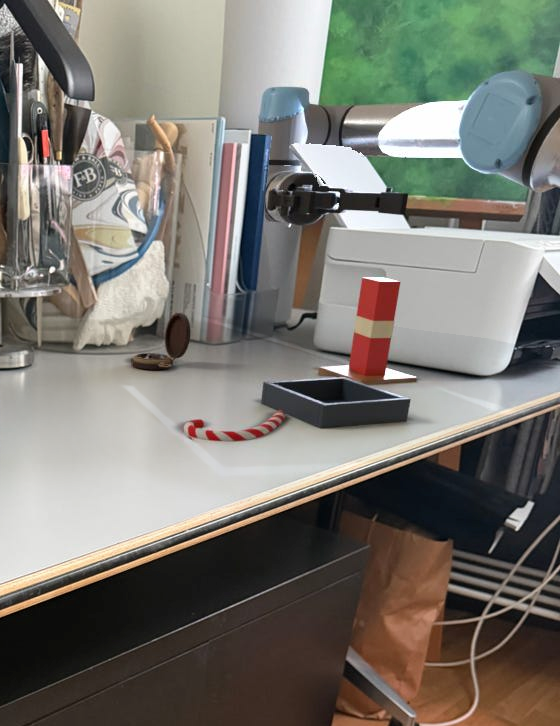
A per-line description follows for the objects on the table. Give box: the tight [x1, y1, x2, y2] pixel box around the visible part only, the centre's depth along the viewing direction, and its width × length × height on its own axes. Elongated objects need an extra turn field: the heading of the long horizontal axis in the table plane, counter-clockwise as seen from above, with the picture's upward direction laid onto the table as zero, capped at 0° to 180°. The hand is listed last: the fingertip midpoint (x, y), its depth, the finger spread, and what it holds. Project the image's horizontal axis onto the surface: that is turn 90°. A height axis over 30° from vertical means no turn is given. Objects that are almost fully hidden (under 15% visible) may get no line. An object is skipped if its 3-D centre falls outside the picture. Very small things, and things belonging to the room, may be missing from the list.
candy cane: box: [182, 410, 287, 442], centre depth 102 cm, size 8×1×15 cm
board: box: [317, 364, 418, 386], centre depth 129 cm, size 10×9×1 cm
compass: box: [130, 312, 192, 370], centre depth 132 cm, size 8×8×7 cm
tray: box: [260, 377, 412, 430], centre depth 109 cm, size 13×12×3 cm
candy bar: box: [348, 276, 401, 376], centre depth 126 cm, size 3×5×12 cm, turn 11°
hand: (358, 203), depth 128 cm, fingers open, 13 cm apart
